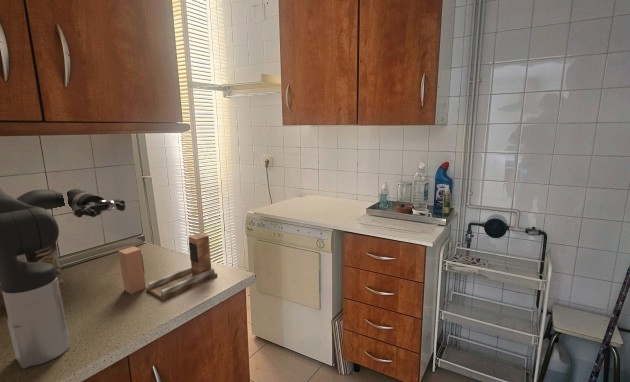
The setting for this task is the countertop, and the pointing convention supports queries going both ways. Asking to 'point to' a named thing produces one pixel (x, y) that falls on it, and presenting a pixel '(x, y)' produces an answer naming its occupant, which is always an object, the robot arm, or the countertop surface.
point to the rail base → (187, 271)
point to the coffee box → (44, 258)
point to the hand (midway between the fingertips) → (108, 210)
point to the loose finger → (132, 269)
